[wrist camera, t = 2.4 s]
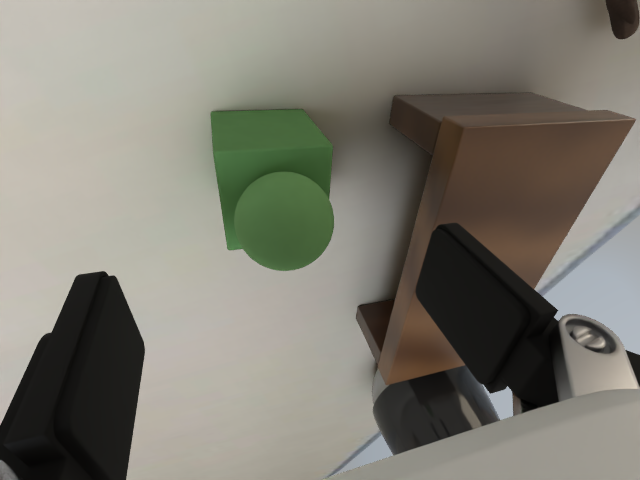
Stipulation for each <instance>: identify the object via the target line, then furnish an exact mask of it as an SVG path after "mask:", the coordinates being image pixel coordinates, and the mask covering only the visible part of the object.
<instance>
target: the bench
mask: <svg viewBox="0 0 640 480" xmlns="http://www.w3.org/2000/svg"><path fill="white" fill-rule="evenodd" d="M635 121H636V119H635V118H632V117H628V116H625V115H622V114H618V113H615V112H612V111H608V110H593V111H588V110H585V109H582V108H579V107H575V106H572V105H569V104H566V103H563V102H560V101H556V100H553V99H550V98H547V97H544V96H540V95H537V94H534V93H498V94H445V95H395V96H394V97H393V103H392V109H391V115H390V121H389V124H390V125H391V126H393V127H394V128H395V129H397V130H398V131H400V132H401V133H402V134H404V135H405V136H406V137H408V138H409V139H411V140H412V141H413V142H415V143H416V144H417V145H419V146H420V147H422V148H423V149H424V150H426V151H427V152H429V153H430V154H431V155H433V157H432V161H431V165H430V169H429V173H428V176H427V180H426V184H425V188H424V192H423V195H422V199H421V203H420V207H419V211H418V215H417V218H416V222H415V226H414V230H413V234H412V237H411V241H410V245H409V249H408V253H407V257H406V260H405V264H404V268H403V272H402V276H401V279H400V283H399V287H398V291H397V295H396V299H394V300H389V301H383V302H378V303H373V304H367V305H362V306H358V310H357V315H356V319H357V321H358V323H359V326H360V328H361V330H362V332H363V334H364V336H365V339H366V341H367V343H368V345H369V347H370V349H371V351H372V354H373V356H374V358H375V360H376V362H377V364H378V369H379V372H380V374H381V376H382V378H383V380H384V382H385V385H390V384H393V383H397V382H401V381H405V380H409V379H413V378H417V377H421V376H425V375H429V374H433V373H437V372H440V371H444V370H448V369H452V368H456V367H460V366H464V365H465V364H464V362H463V361H462V360H461V358H460V357H459V355H458V354H457V353H456V351H455V350H454V348H453V347H452V346H451V344H450V343H449V342H448V340H447V339H446V337H445V336H444V335H443V333H442V332H441V331H440V329H439V328H438V326H437V325H436V324H435V322H434V321H433V320H432V318H431V317H430V315H429V314H428V313H427V311H426V310H425V309H424V307H423V306H422V304H421V303H420V302H419V300H418V299H417V296H416V293H415V289H416V285H417V282H418V278H419V275H420V271H421V268H422V265H423V261H424V258H425V254H426V251H427V248H428V244H429V241H430V237H431V234H432V232H433V231H434V230H435V229H436V227H437V226H438V225H440V224H447V223H458V224H460V225H461V226H462V227H463V228H464V229H465V230H467V231H468V232H469V233H470V234H471V235H472V236H473V237H475V238H476V239H477V240H478V241H479V242H480V243H481V244H483V245H484V246H485V247H486V248H487V249H488V250H489V251H491V252H492V253H493V254H494V255H495V256H496V257H497V258H499V259H500V260H501V261H502V262H503V263H504V264H505V265H507V266H508V267H509V268H510V269H511V270H512V271H514V272H515V273H516V274H517V275H518V276H519V277H520V278H522V279H523V280H524V281H525V282H526V283H527V284H528V285H530V286H531V287H532V288H533V289H534V288H535V287H536V285H537V283H538V282H539V280H540V278H541V277H542V275H543V273H544V272H545V270H546V268H547V267H548V265H549V264H550V262H551V260H552V259H553V257H554V255H555V254H556V252H557V250H558V249H559V247H560V245H561V244H562V242H563V240H564V239H565V237H566V235H567V234H568V232H569V230H570V229H571V227H572V225H573V224H574V222H575V220H576V219H577V217H578V215H579V214H580V212H581V210H582V209H583V207H584V205H585V204H586V202H587V200H588V199H589V197H590V196H591V194H592V192H593V191H594V189H595V187H596V186H597V184H598V182H599V181H600V179H601V177H602V176H603V174H604V172H605V171H606V169H607V167H608V166H609V164H610V162H611V161H612V159H613V157H614V156H615V154H616V152H617V151H618V149H619V147H620V146H621V144H622V142H623V141H624V139H625V137H626V136H627V134H628V132H629V131H630V129H631V127H632V126H633V124H634V123H635Z"/></svg>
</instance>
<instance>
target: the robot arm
mask: <svg viewBox="0 0 640 480" xmlns="http://www.w3.org/2000/svg"><path fill="white" fill-rule="evenodd" d="M415 293H416V296H417V299H418V300H419V302H420V303H421V304H422V306H423V307H424V309H425V310H426V311H427V313H428V314H429V315H430V317H431V318H432V320H433V321H434V322H435V324H436V325H437V326H438V328H439V329H440V331H441V332H442V333H443V335H444V336H445V337H446V339H447V340H448V342H449V343H450V344H451V346H452V347H453V348H454V350H455V351H456V353H457V354H458V355H459V357H460V358H461V360H462V361H463V362H464V364H465V365H466V366H467V368H468V369H469V371H470V372H471V373H472V375H473V376H474V377H475V379H476V380H477V381H478V382H479V383H480V384H484V386H485V387H486V389H487V390H488V391H489V393H494V392H497V391H501V390H504V389H506V387H507V386H508V387H509V388H510V389H511V391H512V393H513V416H512V417H509V418H506V419H503V420H500V421H497V422H494V423H491V424H488V425H485V426H482V427H479V428H476V429H473V430H469V431H466V432H463V433H460V434H457V435H454V436H451V437H448V438H445V439H442V440H439V441H436V442H433V443H430V444H427V445H424V446H421V447H418V448H415V449H412V450H409V451H406V452H403V453H400V454H397V455H394V456H391V457H388V458H385V459H382V460H379V461H376V462H373V463H370V464H367V465H364V466H361V467H358V468H355V469H352V470H349V471H346V472H343V473H340V474H337V475H334V476H331V477H328V478H325V479H322V480H640V355H638V354H635V353H632V352H629V351H627V350H625V348H624V346H623V344H622V342H621V341H620V339H619V337H618V336H617V335H616V334H615V333H614V332H613V331H612V330H610V329H609V328H608V327H606V326H605V325H603V324H601V323H600V322H598V321H596V320H594V319H591V318H589V317H586V316H582V315H577V314H568V315H565V316H562V318H561V319H560V320H559V321H557V320H556V319H555V318H554V316H555V314H556V313H557V311H558V310H557V309H556V308H555V307H553V306H552V305H551V304H550V303H549V302H548V301H547V300H546V299H544V298H543V297H542V296H541V295H540V294H539V293H538V292H536V291H535V290H534V289H533V288H532V287H531V286H530V285H528V284H527V283H526V282H525V281H524V280H523V279H522V278H520V277H519V276H518V275H517V274H516V273H515V272H514V271H512V270H511V269H510V268H509V267H508V266H507V265H505V264H504V263H503V262H502V261H501V260H500V259H499V258H497V257H496V256H495V255H494V254H493V253H492V252H491V251H489V250H488V249H487V248H486V247H485V246H484V245H483V244H481V243H480V242H479V241H478V240H477V239H476V238H475V237H473V236H472V235H471V234H470V233H469V232H468V231H467V230H465V229H464V228H463V227H462V226H461V225H460V224H458V223H447V224H440V225H438V226H437V227H436V229H435V230H434V231H433V232H432V234H431V237H430V241H429V244H428V248H427V251H426V254H425V258H424V261H423V265H422V268H421V271H420V275H419V278H418V282H417V285H416V289H415ZM144 354H145V347H144V342H143V339H142V337H141V334H140V332H139V330H138V327H137V325H136V323H135V320H134V318H133V315H132V313H131V311H130V308H129V306H128V304H127V301H126V299H125V297H124V294H123V292H122V289H121V287H120V285H119V282H118V280H117V278H116V277H115V276H108V274H107V273H106V272H104V271H102V272H95V273H87V274H80V275H78V276H76V278H75V280H74V282H73V284H72V287H71V289H70V291H69V294H68V296H67V298H66V301H65V303H64V305H63V308H62V310H61V312H60V314H59V317H58V319H57V321H56V324H55V326H54V328H53V331H52V333H47V334H45V335H44V336H43V337H42V338H41V340H40V341H39V343H38V345H37V347H36V349H35V351H34V354H33V356H32V358H31V360H30V362H29V364H28V367H27V369H26V371H25V373H24V375H23V378H22V380H21V382H20V384H19V386H18V388H17V391H16V393H15V395H14V397H13V399H12V401H11V404H10V406H9V408H8V410H7V412H6V415H5V417H4V419H3V421H2V423H1V425H0V480H126V476H127V469H128V462H129V455H130V449H131V442H132V435H133V429H134V422H135V415H136V408H137V402H138V395H139V388H140V382H141V375H142V368H143V361H144Z"/></svg>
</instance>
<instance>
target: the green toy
mask: <svg viewBox="0 0 640 480" xmlns="http://www.w3.org/2000/svg"><path fill="white" fill-rule="evenodd" d="M211 127H212V143H213V156H214V162H215V169H216V176H217V182H218V189H219V196H220V202H221V209H222V216H223V222H224V229H225V236H226V242H227V249H228V250H237V249H243V250H244V251H245V252H246V253H247V254H248V256H249V257H250V258H252V259H253V260H254V261H256V262H257V263H259V264H260V265H262V266H264V267H267V268H270V269H273V270H280V271H289V270H295V269H299V268H302V267H305V266H307V265H309V264H310V263H312V262H313V261H315V260H316V259H317V258H318V257H319V256H320V255H321V254H322V253H323V252H324V250H325V249H326V247H327V246H328V244H329V242H330V240H331V236H332V233H333V228H334V215H333V210H332V206H331V203H330V201H329V193H330V180H331V166H332V152H333V145H332V144H331V143H330V142H329V140H328V139H327V138H326V137H325V136H324V134H323V133H322V132H321V131H320V130H319V128H318V127H317V126H316V125H315V123H314V122H313V121H312V120H311V119H310V117H309V116H308V115H307V114H306V113H305V111H304V110H303V109H288V110H252V111H216V112H211Z"/></svg>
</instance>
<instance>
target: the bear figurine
mask: <svg viewBox="0 0 640 480" xmlns="http://www.w3.org/2000/svg"><path fill="white" fill-rule="evenodd" d="M605 1H606V6H607V10H608V13H609V17H610V22H611V27H612V31H613V34H614V35H615V37H616V38H618V39H626V38H628V37H630V36H631V35H633V34H634V33H635V31H636V30H637V28H638V26H639V10H638V5H637V0H605Z"/></svg>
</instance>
